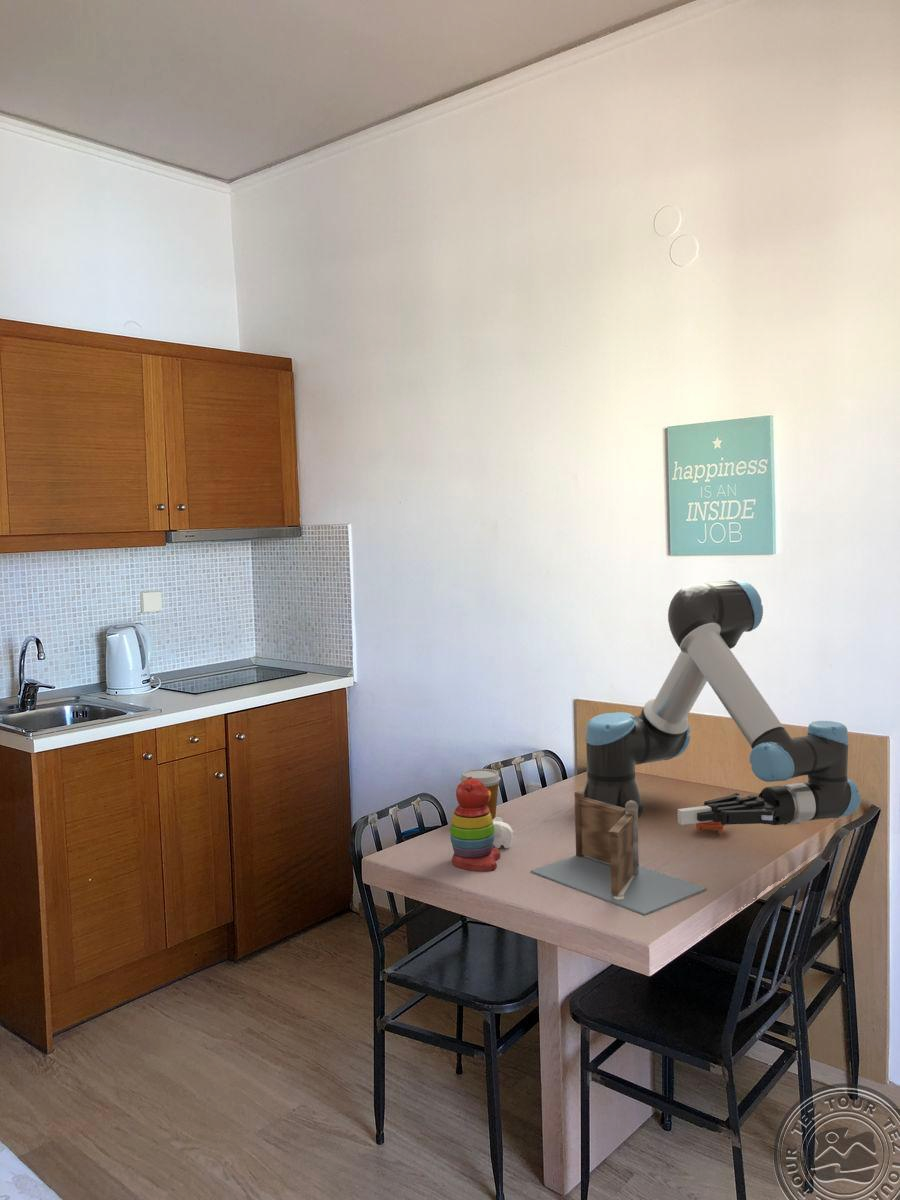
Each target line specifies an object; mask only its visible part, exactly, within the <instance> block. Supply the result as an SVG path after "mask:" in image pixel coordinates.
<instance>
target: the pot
mask: <svg viewBox="0 0 900 1200" xmlns="http://www.w3.org/2000/svg"><path fill="white" fill-rule="evenodd" d="M702 806H704V804H702ZM695 826H696V829H697V832H698V833H700V832H701V833H702V829H703V830H707V831H717V833H718V835H719V836H722V835H723V830H724V826H725V825H722V824H721V822H713V820H711V822H702V823H695Z"/></svg>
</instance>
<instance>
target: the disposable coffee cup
mask: <svg viewBox="0 0 900 1200" xmlns="http://www.w3.org/2000/svg"><path fill="white" fill-rule="evenodd" d="M468 777H472V779H477V780H479V781H481V782H482V783H483V784H484V786H485V787H486V788H487V789H488V790H489V791H490V792H491V794H492V796H491V798H490V801H489V802H488V803H487V804H486V806H488V808H489V809H490V813H491V816H492V820H493V819H494V818H496V817H497V816H496V814H497V805H498V796H499V795H498V793H499V784H500V781H501V777H500V775H499V771H497V770H495V769H489V768H473V769H468V770H465V771H463V772H462V774H461V777H460V782H462V781H464V780H467V779H468Z"/></svg>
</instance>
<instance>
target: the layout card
mask: <svg viewBox="0 0 900 1200" xmlns="http://www.w3.org/2000/svg"><path fill="white" fill-rule="evenodd" d="M530 873H532V874H535V875H538V876H540V877H543V878H545V879H548V880H550V881H554V882H556V883H559V884H561V885H563V886H566V887H569V888H572V889H574V890H577V891H580V892H583V893H585V894H588V895H590V896H593V897H596V898H598V899H601V900H604V901H606V902H609V903H611V904H614V905H616V906H620V907H621V908H625V909H627V910H628V911H629V910H630V911H632V912H635V913H637V914H640V915H643V916H647V915H649V914H651V913H654V912H657V911H658V910H661V909H664V908H666V907H669V906H670V905H673V904H676V903H678V902H680V901H682V900H686V899H687V898H690V897H694V896H695V895H697V894H700V893H702V892H705V891H706V890H707V889H708V888H707V887H704V886H701V885H698V884H695V883H692V882H690V881H686V880H683V879H680V878H677V877H674V876H671V875H668V874H665V873H661V872H659V871H656V870H653V869H650V868H647V867H644V866H641V865H639V874H637V875H632V876H631V878H630V879H629V880H628V882H627V883H626V884H625V885H624V887H623V888H622V889H621V891H620V892H619V893H618V895H617V894H611V864H608V863H605V862H602V861H599V860H596V859H593V858H590V857H587V856H583V857H578V856H576V855H573V856H570V857H566V858H564V859H560V860H558V861H555V862H552V863H549V864H546V865H543V866H540V867H537V868H534V869H531V870H530Z"/></svg>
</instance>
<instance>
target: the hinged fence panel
mask: <svg viewBox="0 0 900 1200" xmlns="http://www.w3.org/2000/svg"><path fill="white" fill-rule="evenodd" d="M633 820H634V815H632V814H625V815H624V816H623V817H622V818H621V819H620V820H619V821H618V822H617V823H616V824H615V825H614V826H613V827H612V828H611V830H610V831H609V837H610V849H611V894H617V895H618V893H619V892H620V891H621V889H622V888H623V887H624V885H625V884H626V883H627V882H628V880H629V879H630V878H631V876H632V875H633V874H634V869H633Z"/></svg>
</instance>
